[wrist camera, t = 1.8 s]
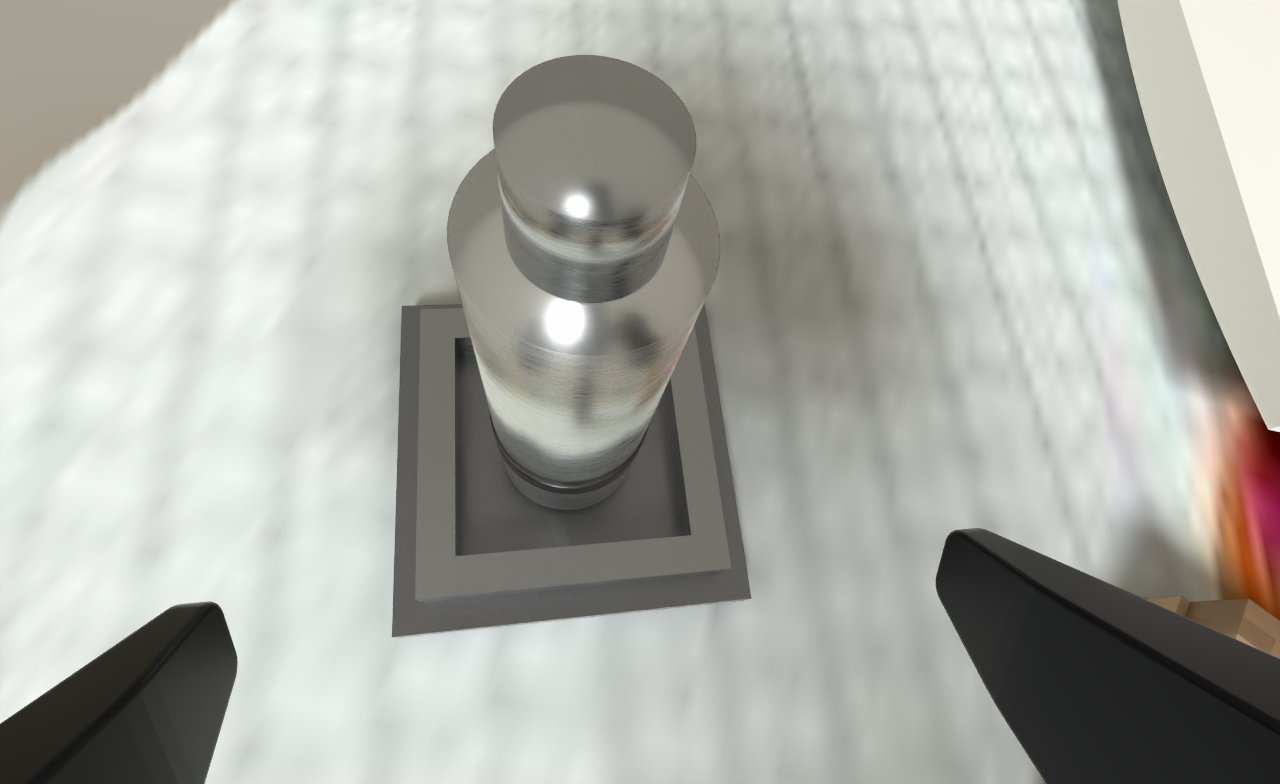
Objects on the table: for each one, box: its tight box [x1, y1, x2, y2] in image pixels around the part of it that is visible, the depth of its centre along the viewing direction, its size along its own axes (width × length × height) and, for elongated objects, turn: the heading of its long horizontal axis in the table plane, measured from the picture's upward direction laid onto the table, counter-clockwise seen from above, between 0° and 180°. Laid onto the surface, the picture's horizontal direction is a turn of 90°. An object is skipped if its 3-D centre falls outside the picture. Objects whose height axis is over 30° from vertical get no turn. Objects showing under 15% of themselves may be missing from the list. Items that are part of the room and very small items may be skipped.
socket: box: [392, 304, 751, 637], centre depth 19 cm, size 10×10×2 cm
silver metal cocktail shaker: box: [447, 55, 720, 510], centre depth 14 cm, size 4×4×13 cm
